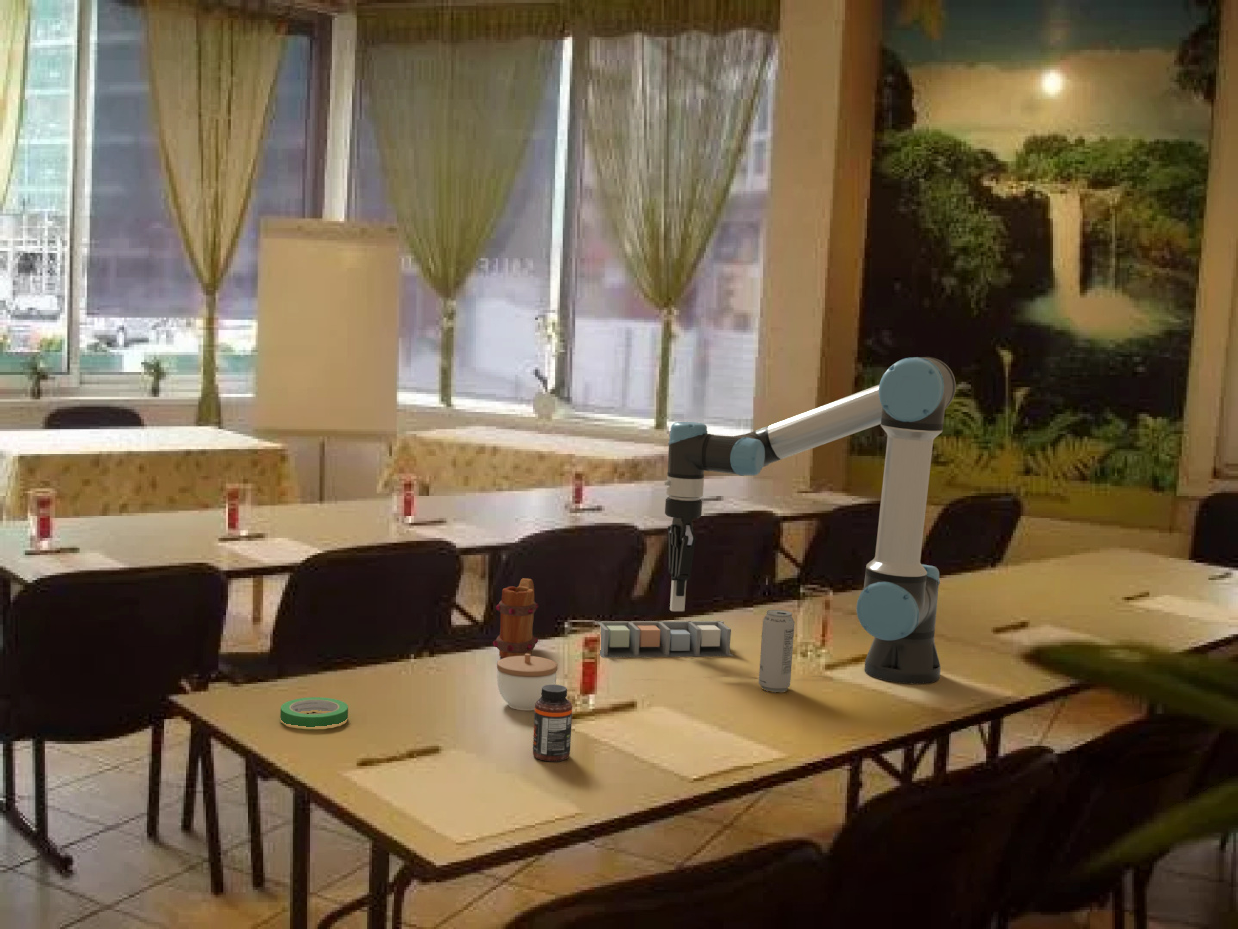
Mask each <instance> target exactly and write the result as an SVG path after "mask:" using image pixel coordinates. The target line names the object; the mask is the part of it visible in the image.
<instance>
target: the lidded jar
mask: <svg viewBox="0 0 1238 929" xmlns="http://www.w3.org/2000/svg"><path fill="white" fill-rule="evenodd" d="M496 669H497V670H496V671H497V672H496V673H497V674H496V679H497V681H496V682H497V688H498V691H499V694H500V696H501V697H502V699H503V701H505V703H507V706H508V707H509V708H510V709H512V710H516V711H535V703H536V701H537V700H539V699H540V698H541V696H542V695H541V693H542V687H543V686H545V685H556V682H557V673H558V672H557V671H558V663H557V662H556V661H554V660H552V659H549V658H545V657H541V656H534V655H532V653H531V654H525V656H513V657H507V658H501V659H498V661H497V662H496Z"/></svg>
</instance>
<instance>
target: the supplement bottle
mask: <svg viewBox="0 0 1238 929" xmlns="http://www.w3.org/2000/svg"><path fill="white" fill-rule="evenodd" d="M541 695H542V696H541V698H540V699H539V700H537V701H536V703H535V710H534V718H533V719H534V720H533V734H532V736H533V738H532V739H533V740H532V754H533V756H534V757H535V758H536V759H538V760H540V761H544V762H562V761H564V760H567V759H568V758H569V757H570V754H571V741H572V740H571V739H572V738H571V737H572V724H573V721H572V720H573V703H572V702H571V701H570V700H569V699H567V696H568V688H567V687H566V686H564V685H561V684H555V685H545V686H543V687H542V693H541Z"/></svg>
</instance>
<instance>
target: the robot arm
mask: <svg viewBox="0 0 1238 929" xmlns="http://www.w3.org/2000/svg"><path fill="white" fill-rule="evenodd" d="M956 388H957V384H956V380H955V375H954V373H953V371H952V370H951V368H950V367H949V366H948V365H947V364H946V363H945V362H944V361H942V360H940V359H937V358H935V357H930V356H920V357H918V356H916V357H915V356H914V357H904V358H902V359H900V360H898V361H896V362H895V363H893V364H892V365H891V366H889V367H888V369H887V370H886V371H885V372H884V373H883V374H882V377H881V379H880V382H879V383H878V384H877V385H874V386H871V387H869V388H867V389H863V390H861V391H858V392H856V393H852V394H850V395H847V396H845V397H842V398H839V399H836V400H835V401H832V402H829V403H826V404H823V405H821V406H818V407H816V408H815V407H814V408H813V409H810V410H808V411H805V412H802V413H799V414H796V415H793V416H792V417H788V418H786V419H784V420H783V419H782V420H780V421H778V422H775V423H772V424H771V425H767V426H765V427H762V428H758V429H756V430H754V431H751V432H747V433H743V434H738V435H734V436H733V435H721V434H720V435H719V434H711V433H708V426H707V425H706V423H702V422H694V421H677V422H673V423H672V424H671V426H670V432H669V440H668V456H667V457H668V459H667V478H666V479H667V480H665V481H664V486H666V492H665V493H666V495H667V497H666V498H665V505H664V515H666V516H667V517H669V518H672V522H671V524H670V525H668V526H667V533H668V573H669V574H670V576H671V577H670V578H671V579H670V580H671V583H670V584H671V587H670V600H669V601H670V603H669V605H670V606H669V610H670V611H671V612H685V605H686V595H687V594H686V591H687V590H686V589H687V581H688V580H690V579H691V575H692V567H693V560H694V554H695V552H694V551H695V547H696V543H697V540H698V538H697V535H694V534H695V528H694V526H693V520H694V519H699V518H701V517H702V513H703V512H702V510H703V500H702V499H701V498H703V496H704V484H705V472H716V473H722V474H723V473H725V474H729V475H730V474H732V475H739V476H741V477H745V476H757V475H759V474H760V473H761V471H762V469H763V468H764V467H767V466H769V465H771V464H772V463H776V462H778V461H780V460H783V459H786V458H789V457H792V456H795V455H797V454H799V453H803V452H805V451H808V450H812V449H814V448H817V447H820V446H823V445H825V444H828V443H831V442H834V441H836V440H840V439H843V438H844V437H847V436H851V435H853V434H856V433H860V432H861V431H864V430H867V429H870V428H873V427H876V426H879V425H880V428H882V429H883V431H884V432H885V434H886V436H887V438H886V448H885V459H884V470H883V478H882V487H881V496H880V506H879V514H878V515H879V516H878V526H877V536H876V545H875V554H874V558H873V559H872V560H870V561H869V562H868V563H866V565H865V566H866V567H865V574H864V575H865V576H864V583H863V589H862V591H861V592H860V594H859V596H858V599H857V601H856V606H855V607H856V610H855V611H856V615H857V619H858V621H859V623H860V625H861V626H862V628H863V629H864V630H865V631H866V632H867V633H868V634H869V635H871V636H872V637H874V638H873V640H872V643H871V646H870V647H869V650H868V652H867V655H866V658H865V661H864V672H865V673H866V674H867V675H869V676H871V677H873V678H875V679H879V680H882V681H883V680H884V681H888V682H892V681H894V682H893V683H899V682H900V684H911V683H913V684H918V685H920V684H921V685H922V684H931V683H935V682H937V681H939V680H940V678H941V663H940V660H939V654H938V651H937V647H936V642H935V633H936V632H935V631H936V621H937V620H936V619H937V609H938V596H939V587H940V584H941V581H940V571H939V569H938V568H937V566H933V565H927V564H924V563H921V557H922V547H923V538H924V529H925V520H926V519H925V518H926V511H927V510H926V509H927V501H928V500H927V499H928V493H929V492H928V491H929V485H930V484H929V482H930V473H931V463H932V456H933V455H932V454H933V447H934V446H933V445H934V440H935V439H936V438H937V437H938V436H939V435H940V434H942V433H943V430H944V422H945V421H944V420H945V419H944V418H945V411H946V409H947V408H948V407H949V406H950V404H951V403H952V401H953V400H954V397H955V394H956Z"/></svg>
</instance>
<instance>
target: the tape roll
mask: <svg viewBox="0 0 1238 929" xmlns="http://www.w3.org/2000/svg"><path fill="white" fill-rule="evenodd" d="M311 710H318V711H320V710H321V711H331V712H327V713H309V714H305V713H299V712H301V711H311ZM279 717H280V718H281V720H282V721H283V722H284V723H286V724H291V725H298V726H306V727H315V726H327V725H332V724H339V723H341V722H343V721H345V720H346V719H347V718H348V719H349V705H348V704H347V703H346V702H345V701H342V700H339V699H335V698H331V697H320V696H319V697H318V696H317V697H313V696H311V697H310V696H309V697H302V698H300V697H299V698H296V699H295V698H294V699H291V700H289V701H286V702H284V703H283V704H281V706H280V716H279ZM280 718H279V719H280Z"/></svg>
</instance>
